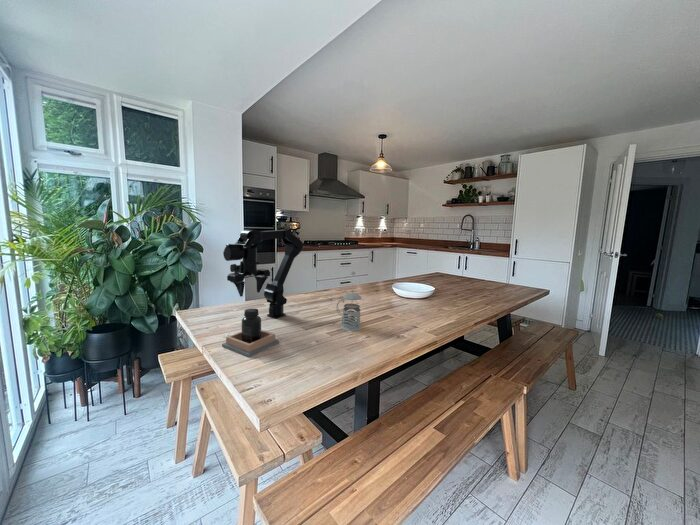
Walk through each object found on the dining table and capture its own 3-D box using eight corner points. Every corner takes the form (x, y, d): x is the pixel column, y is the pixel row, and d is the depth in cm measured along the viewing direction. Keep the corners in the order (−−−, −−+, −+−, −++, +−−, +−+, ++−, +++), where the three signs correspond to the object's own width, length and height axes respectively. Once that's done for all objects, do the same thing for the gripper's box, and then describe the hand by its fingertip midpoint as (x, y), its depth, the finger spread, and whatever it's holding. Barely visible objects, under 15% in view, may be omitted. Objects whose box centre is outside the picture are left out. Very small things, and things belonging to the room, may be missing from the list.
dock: (253, 334, 114) (253, 325, 113) (278, 342, 107) (278, 333, 106) (222, 346, 102) (221, 337, 101) (248, 357, 95) (248, 347, 94)
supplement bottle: (264, 342, 105) (264, 310, 103) (247, 347, 100) (247, 314, 98) (255, 336, 109) (255, 306, 108) (238, 341, 104) (237, 309, 103)
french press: (360, 332, 120) (362, 274, 117) (333, 329, 122) (335, 272, 119) (363, 324, 130) (366, 270, 126) (339, 321, 132) (340, 268, 129)
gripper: (253, 255, 134) (254, 287, 136) (218, 259, 118) (219, 295, 120) (270, 257, 129) (270, 291, 131) (236, 261, 113) (236, 300, 115)
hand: (250, 294), depth 124 cm, fingers open, 9 cm apart
